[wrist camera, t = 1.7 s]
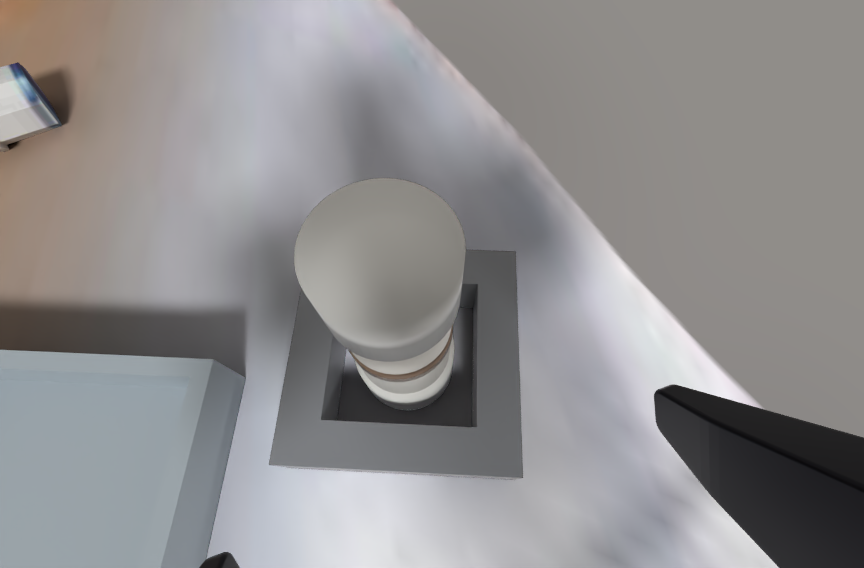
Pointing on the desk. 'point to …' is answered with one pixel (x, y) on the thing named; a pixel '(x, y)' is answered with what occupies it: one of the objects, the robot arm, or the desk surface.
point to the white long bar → (22, 107)
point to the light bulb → (387, 283)
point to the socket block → (409, 443)
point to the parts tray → (111, 458)
